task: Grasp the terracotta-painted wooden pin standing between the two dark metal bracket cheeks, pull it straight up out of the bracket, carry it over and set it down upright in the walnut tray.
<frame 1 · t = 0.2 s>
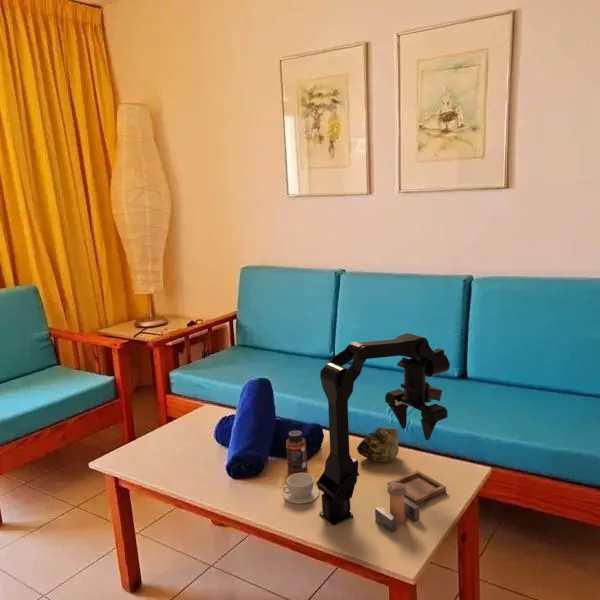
hand: (415, 434, 154), 14 cm above the table, fingers open, 9 cm apart
supplement bottle: (297, 468, 169), on the table
teacup: (301, 495, 154), on the table
pin: (397, 520, 140), on the table
seashell: (380, 459, 171), on the table
tray: (416, 490, 152), on the table
hitch bracket: (397, 520, 140), on the table
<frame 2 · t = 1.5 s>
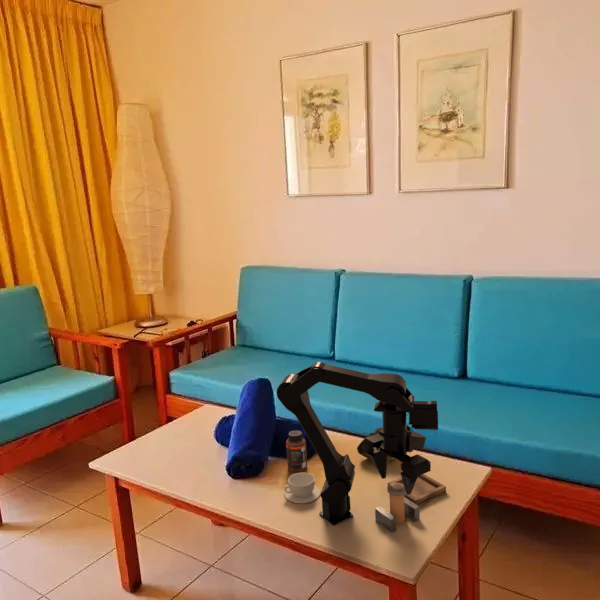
hand: (396, 486, 138), 9 cm above the table, fingers open, 9 cm apart
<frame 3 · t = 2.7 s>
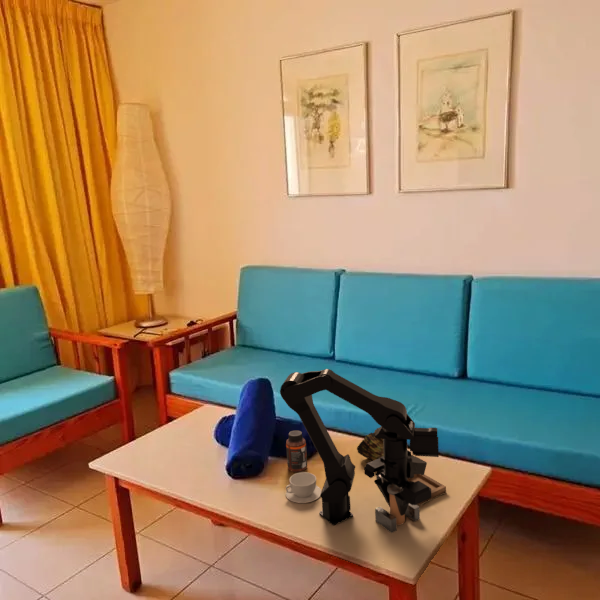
hand: (397, 511, 139), 3 cm above the table, fingers closed on pin, 4 cm apart
pin: (397, 520, 140), on the table, touching gripper
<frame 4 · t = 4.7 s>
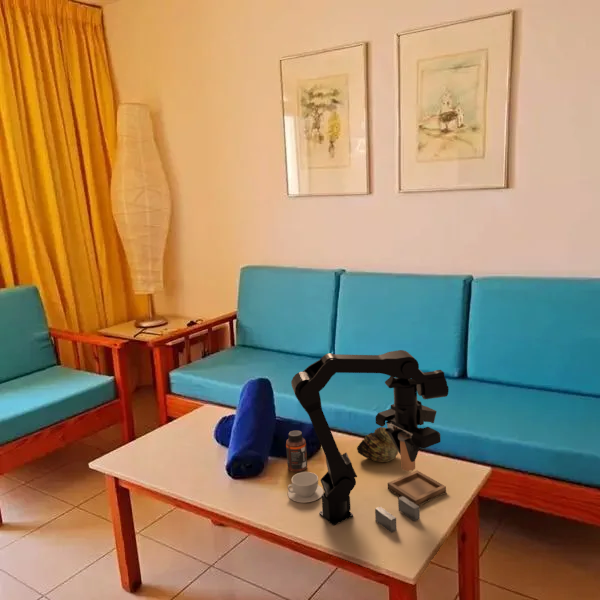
hand: (407, 458, 143), 13 cm above the table, fingers closed on pin, 4 cm apart
pin: (408, 467, 144), point 11 cm above the table, touching gripper
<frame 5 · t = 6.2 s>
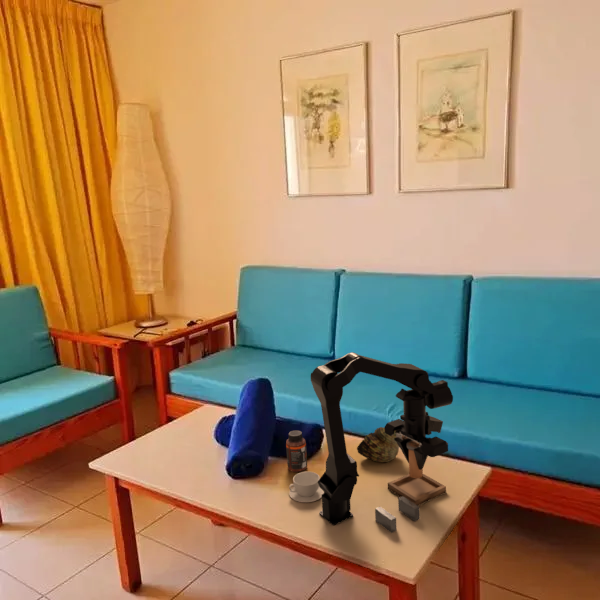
hand: (415, 466, 151), 7 cm above the table, fingers closed on pin, 4 cm apart
pin: (415, 474, 151), point 5 cm above the table, touching gripper
when the fingers open (4 cm above the table, at t = 7.0 s): pin drops 1 cm, resting on tray.
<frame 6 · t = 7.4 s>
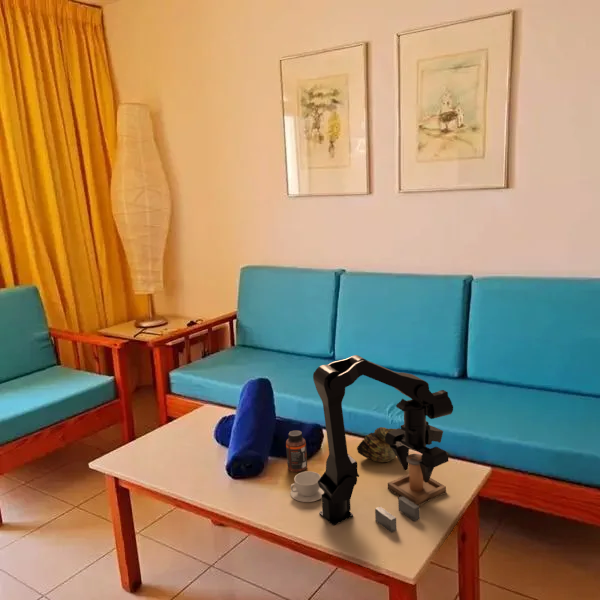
hand: (416, 475, 151), 4 cm above the table, fingers open, 8 cm apart
pin: (416, 487, 152), point 1 cm above the table, touching tray
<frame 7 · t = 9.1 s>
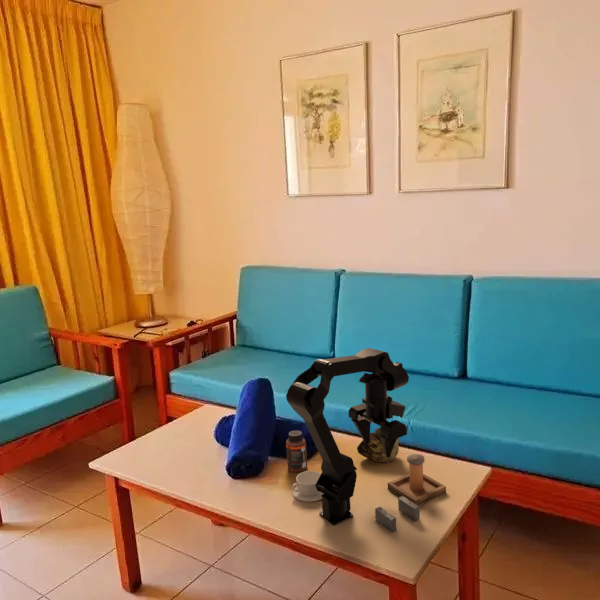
hand: (377, 450, 151), 12 cm above the table, fingers open, 9 cm apart
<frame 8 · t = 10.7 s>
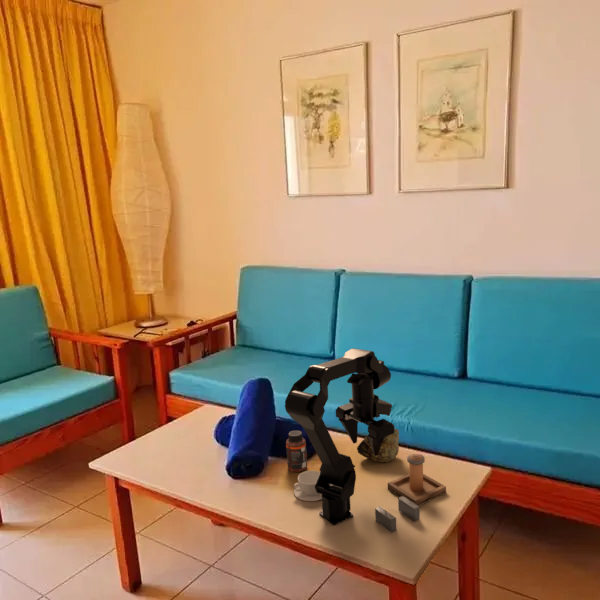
hand: (365, 448, 152), 12 cm above the table, fingers open, 9 cm apart
at the end: pin inside the target area on the tray (0.0 cm from its centre), point 0.8 cm above the tray's base; pin tilted 0°; the gripper is holding nothing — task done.
